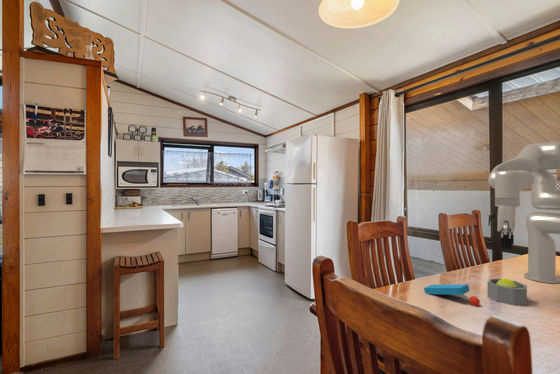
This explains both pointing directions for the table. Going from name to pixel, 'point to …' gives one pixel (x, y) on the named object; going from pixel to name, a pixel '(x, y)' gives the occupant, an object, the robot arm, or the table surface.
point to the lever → (453, 291)
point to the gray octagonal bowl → (507, 293)
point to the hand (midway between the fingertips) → (507, 246)
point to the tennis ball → (506, 283)
